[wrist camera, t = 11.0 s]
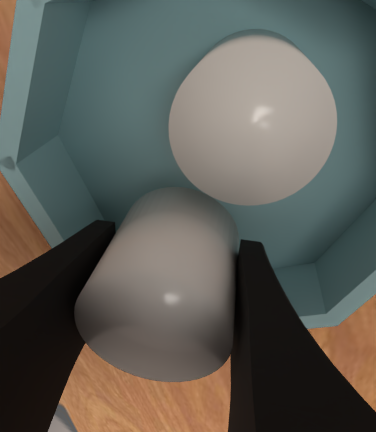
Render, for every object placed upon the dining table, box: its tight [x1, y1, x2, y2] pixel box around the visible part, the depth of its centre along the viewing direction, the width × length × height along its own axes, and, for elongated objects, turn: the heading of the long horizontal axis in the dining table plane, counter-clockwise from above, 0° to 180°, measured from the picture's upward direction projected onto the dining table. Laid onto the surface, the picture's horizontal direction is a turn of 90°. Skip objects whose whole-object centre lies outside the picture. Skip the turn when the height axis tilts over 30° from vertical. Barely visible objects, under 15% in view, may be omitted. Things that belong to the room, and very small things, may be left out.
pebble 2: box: [168, 29, 337, 206], centre depth 10 cm, size 4×4×4 cm
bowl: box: [0, 0, 376, 329], centre depth 12 cm, size 13×13×4 cm
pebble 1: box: [74, 187, 239, 382], centre depth 10 cm, size 4×4×4 cm
